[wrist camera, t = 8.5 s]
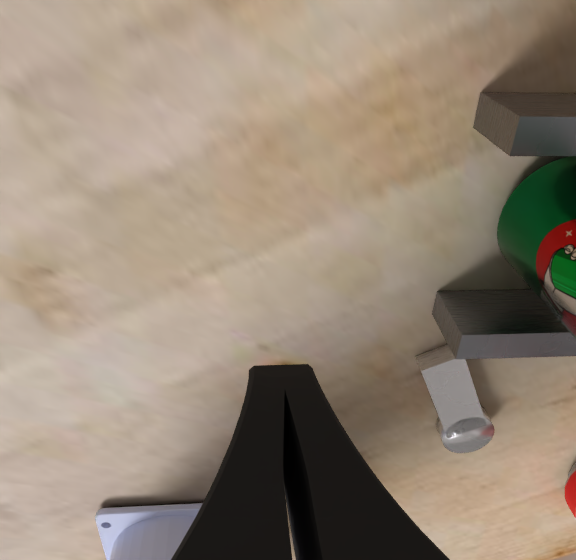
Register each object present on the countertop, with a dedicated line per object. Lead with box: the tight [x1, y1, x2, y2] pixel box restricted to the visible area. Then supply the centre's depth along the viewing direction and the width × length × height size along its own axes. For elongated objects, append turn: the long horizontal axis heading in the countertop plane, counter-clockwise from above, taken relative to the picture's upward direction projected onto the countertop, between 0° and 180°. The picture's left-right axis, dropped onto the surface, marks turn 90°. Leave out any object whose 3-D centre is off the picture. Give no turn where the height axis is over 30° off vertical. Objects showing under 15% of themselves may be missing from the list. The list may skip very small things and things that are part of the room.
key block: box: [415, 345, 494, 453], centre depth 25 cm, size 7×3×1 cm, turn 23°
